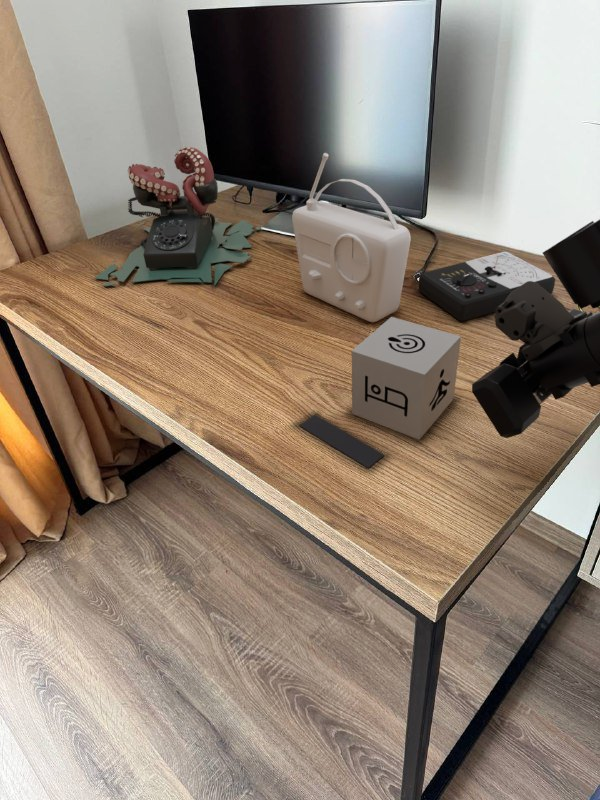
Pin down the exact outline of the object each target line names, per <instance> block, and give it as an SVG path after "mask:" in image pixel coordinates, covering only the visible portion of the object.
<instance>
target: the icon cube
mask: <svg viewBox="0 0 600 800" xmlns="http://www.w3.org/2000/svg"><path fill="white" fill-rule="evenodd" d="M461 340H462V336H461V335H458V334H454V333H451V332H447V331H444V330H440V329H437V328H433V327H429V326H426V325H422V324H419V323H416V322H411V321H408V320H404V319H401V318H397V317H394V316H390V317H389V318H387V320H386V321H384V323H382V324H381V325H380V326H379V327H378V328H377V329H375V330H374V331H373V332H372V333H370V334H369V336H367V337H366V338H365V339H363V340H362V341H361V342H360V343H359V344H358V345H356V346H355V347H354V348H353V349H352V350H351V413H352V415H355V416H357V417H360V418H362V419H365V420H367V421H370V422H372V423H375V424H377V425H380V426H383V427H386V428H388V429H390V430H393V431H395V432H397V433H400V434H404V435H406V436H408V437H411V438H413V439H415V440H418V441H420V440H421V439H422V438H423V436H424V435H425V434H426V433H427V432H428V430H429V429H430V428H431V427H432V425H433V424H434V423H435V422H436V421H437V420H438V419H439V418H440V416H441V415H442V413H444V411H445V410H446V409H447V408H448V407H449V405H450V404H451V403H452V402H453V401H454V399H455V398H454V397H455V389H456V382H457V373H458V364H459V355H460V347H461Z"/></svg>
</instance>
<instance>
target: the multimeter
mask: <svg viewBox="0 0 600 800" xmlns="http://www.w3.org/2000/svg"><path fill="white" fill-rule="evenodd" d="M418 276H419V277H418V291H419V292H420V293H421V294H423V295H424V296H425V297H427V298H428V299H429V300H431V301H432V302H433V303H435V304H436V305H438V306H439V307H440V308H442V309H443V310H444V311H446V312H447V313H449V314H450V315H452V316H453V317H454V318H455V319H457V320H458V321H460V322H466V321H469V320H472V319H475V318H479V317H483V316H487V315H489V314H494V313H495V309H496V308H497V307H498V306H499V305H501V304H502V303H504V301H505V300H506V298H507V297H508V296H509V294H510V293H511V292H512V291H514V290H515V289H517V288H518V287H520V286H521V285H523V284H524V283H526V282H527V281H533V282H535V283H537V284H539V285H540V286H541V287H542V288H544V289H545V290H546V291H547V292H549V293H550V294H551V295H553V292H554V289H555V285H556V278H555V276H553V275H552V274H550V273H549V272H546V271H545V270H543V269H541V268H539V267H537V266H535V265H533V264H531V263H529V262H527V261H525V260H523V259H522V258H520V257H517V256H516V255H514V254H512V253H510V252H508V251H501V252H498V253H493V254H490V255H486V256H482V257H478V258H474V259H470V260H467V261H463V262H459V263H455V264H451V265H447V266H443V267H440V268H436V269H433V270H429V271H424V272H422V273H420V275H418Z"/></svg>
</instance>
